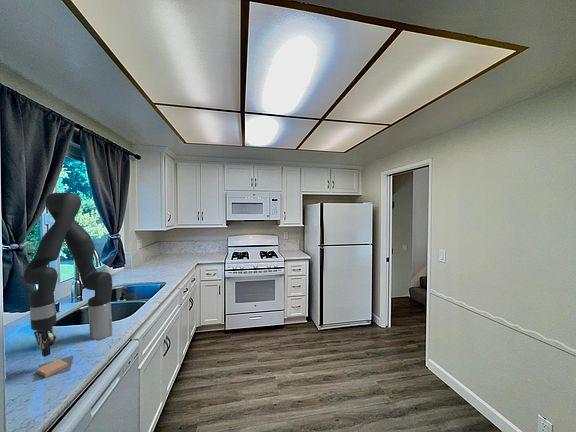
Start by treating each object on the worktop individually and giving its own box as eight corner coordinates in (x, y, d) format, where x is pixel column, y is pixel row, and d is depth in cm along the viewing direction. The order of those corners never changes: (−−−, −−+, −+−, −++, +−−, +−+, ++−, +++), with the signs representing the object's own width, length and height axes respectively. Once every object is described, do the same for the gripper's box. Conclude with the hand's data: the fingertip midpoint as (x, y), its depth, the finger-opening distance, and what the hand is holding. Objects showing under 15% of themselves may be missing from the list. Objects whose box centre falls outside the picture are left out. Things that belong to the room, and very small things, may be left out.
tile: (36, 368, 100) (45, 373, 97) (58, 358, 106) (67, 363, 103) (37, 372, 100) (45, 377, 97) (59, 362, 106) (67, 366, 103)
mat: (73, 356, 111) (73, 355, 111) (70, 371, 101) (69, 370, 101) (39, 366, 105) (39, 364, 105) (31, 383, 95) (31, 382, 95)
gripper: (23, 315, 102) (26, 356, 103) (38, 322, 96) (42, 365, 97) (47, 308, 108) (50, 346, 109) (63, 314, 103) (65, 354, 104)
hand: (46, 355), depth 103 cm, fingers closed
